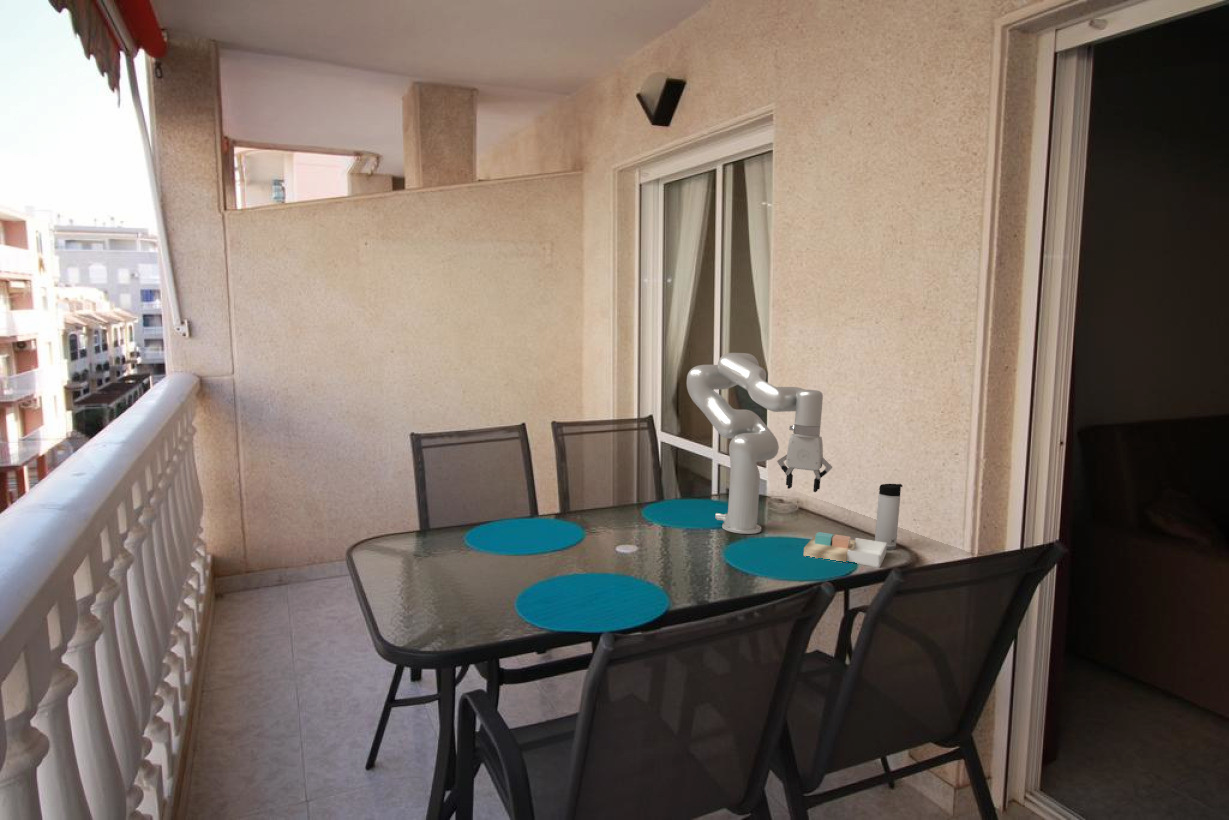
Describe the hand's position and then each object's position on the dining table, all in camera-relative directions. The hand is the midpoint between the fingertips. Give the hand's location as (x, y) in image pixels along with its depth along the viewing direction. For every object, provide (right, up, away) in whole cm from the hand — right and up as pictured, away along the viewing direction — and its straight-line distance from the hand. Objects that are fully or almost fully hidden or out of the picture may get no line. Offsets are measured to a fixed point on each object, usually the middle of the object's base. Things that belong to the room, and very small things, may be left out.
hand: (802, 489), depth 231 cm
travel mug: (+27, -19, +6) cm, 34 cm away
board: (+8, -18, -2) cm, 20 cm away
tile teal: (+6, -16, -2) cm, 17 cm away
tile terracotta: (+11, -16, -4) cm, 20 cm away
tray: (+17, -19, -7) cm, 27 cm away
